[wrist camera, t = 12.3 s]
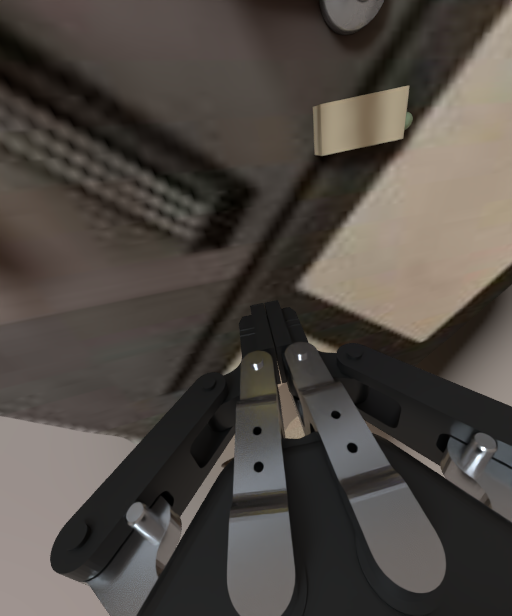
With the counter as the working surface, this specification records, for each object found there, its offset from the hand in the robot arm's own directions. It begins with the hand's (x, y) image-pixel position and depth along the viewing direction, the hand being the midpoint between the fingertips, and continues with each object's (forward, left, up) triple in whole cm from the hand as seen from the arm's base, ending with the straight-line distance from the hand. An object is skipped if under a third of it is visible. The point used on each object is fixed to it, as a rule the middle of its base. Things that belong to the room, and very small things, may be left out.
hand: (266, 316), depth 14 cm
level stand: (+16, +7, -27) cm, 32 cm away
